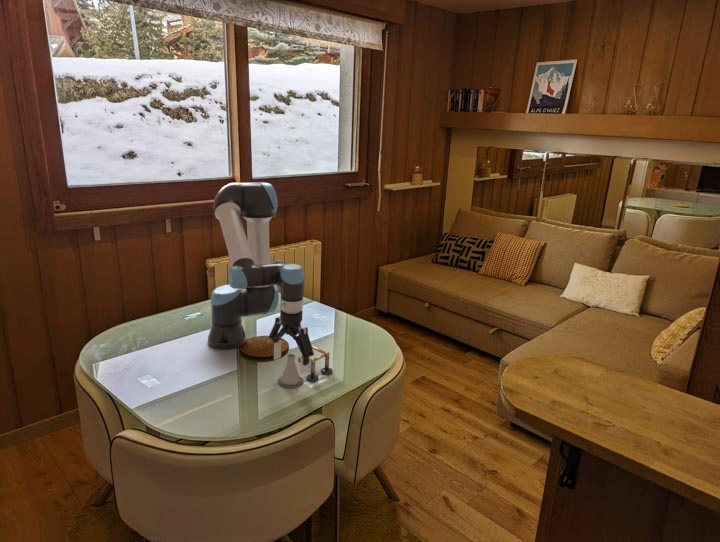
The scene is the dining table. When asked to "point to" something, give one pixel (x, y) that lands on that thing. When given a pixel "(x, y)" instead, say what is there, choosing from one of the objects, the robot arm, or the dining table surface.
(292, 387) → the pad
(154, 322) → the dining table surface
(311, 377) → the wire rail
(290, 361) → the flask
